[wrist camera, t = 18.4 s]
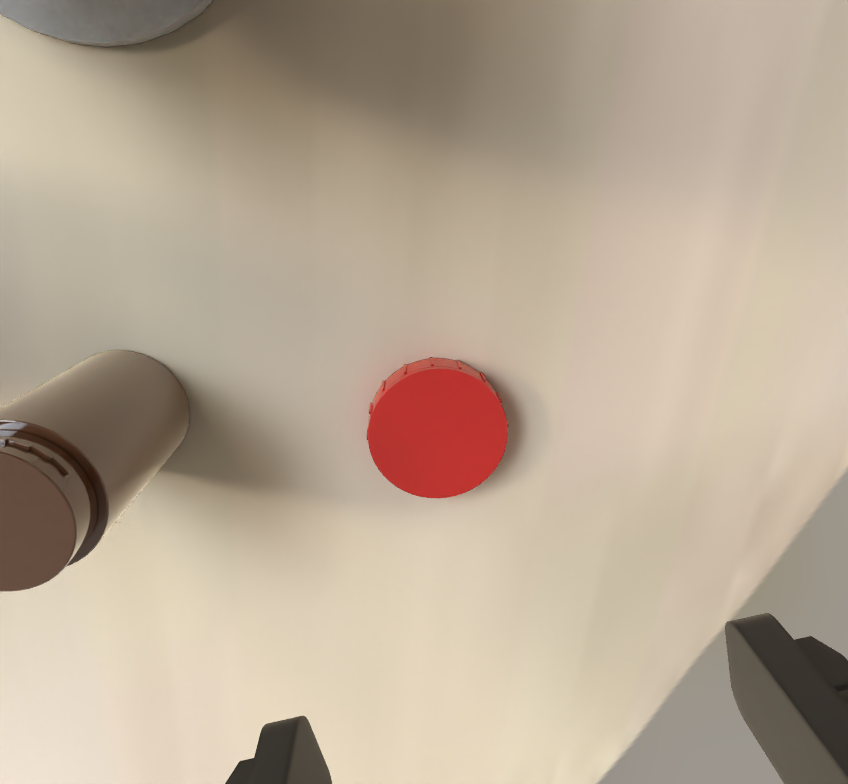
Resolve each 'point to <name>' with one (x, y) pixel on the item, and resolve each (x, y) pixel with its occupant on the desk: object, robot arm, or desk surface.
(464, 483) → the lid
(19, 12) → the mate gourd
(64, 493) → the jar
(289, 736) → the robot arm
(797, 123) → the desk surface
